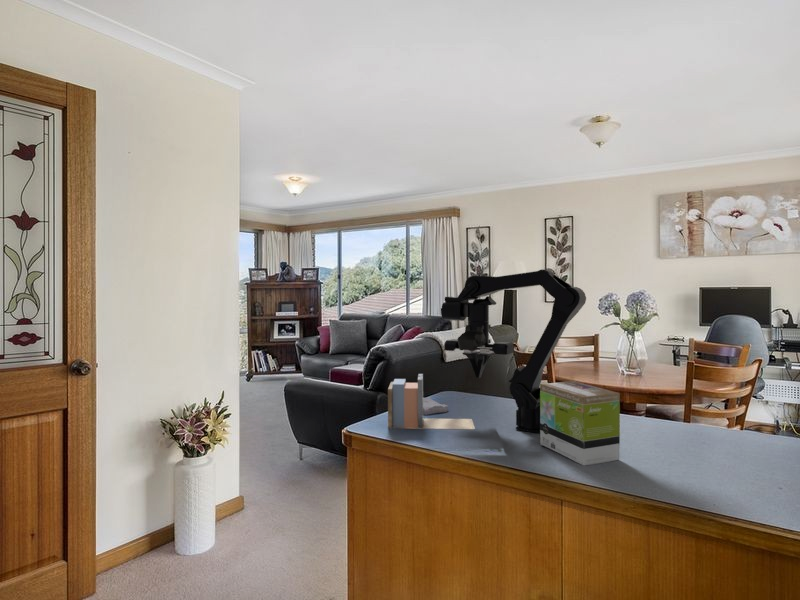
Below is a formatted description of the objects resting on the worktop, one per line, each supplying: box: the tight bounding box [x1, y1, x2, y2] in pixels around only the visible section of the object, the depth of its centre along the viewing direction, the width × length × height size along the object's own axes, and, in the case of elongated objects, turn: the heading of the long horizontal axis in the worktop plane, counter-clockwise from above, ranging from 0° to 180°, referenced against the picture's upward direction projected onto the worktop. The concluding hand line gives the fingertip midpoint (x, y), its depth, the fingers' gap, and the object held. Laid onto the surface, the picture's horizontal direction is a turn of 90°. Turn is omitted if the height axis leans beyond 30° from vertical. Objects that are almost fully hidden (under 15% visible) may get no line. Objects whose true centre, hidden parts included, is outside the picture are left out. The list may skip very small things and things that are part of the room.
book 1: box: [392, 378, 407, 427], centre depth 133 cm, size 3×8×11 cm, turn 177°
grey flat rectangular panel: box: [417, 373, 424, 427], centre depth 132 cm, size 1×9×12 cm, turn 177°
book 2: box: [404, 382, 418, 427], centre depth 133 cm, size 4×8×10 cm, turn 177°
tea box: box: [539, 380, 621, 467], centre depth 112 cm, size 15×10×15 cm, turn 21°
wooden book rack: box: [387, 381, 476, 430], centre depth 132 cm, size 22×10×11 cm, turn 86°
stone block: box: [423, 397, 449, 416], centre depth 149 cm, size 12×5×10 cm
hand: (478, 377), depth 139 cm, fingers closed
